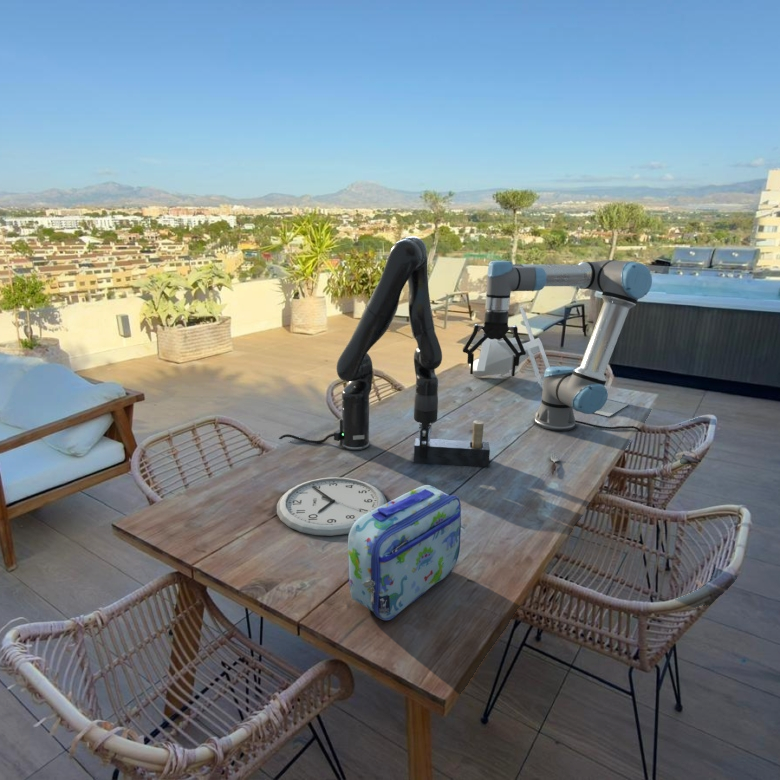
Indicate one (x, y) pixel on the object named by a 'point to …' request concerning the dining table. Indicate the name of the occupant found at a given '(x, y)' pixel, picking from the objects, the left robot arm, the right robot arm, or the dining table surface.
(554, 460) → the fork
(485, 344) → the white plastic object
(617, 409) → the invitation card
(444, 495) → the lunch box
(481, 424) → the peg
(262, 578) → the dining table surface
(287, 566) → the dining table surface
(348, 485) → the wall clock
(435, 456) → the peg board
